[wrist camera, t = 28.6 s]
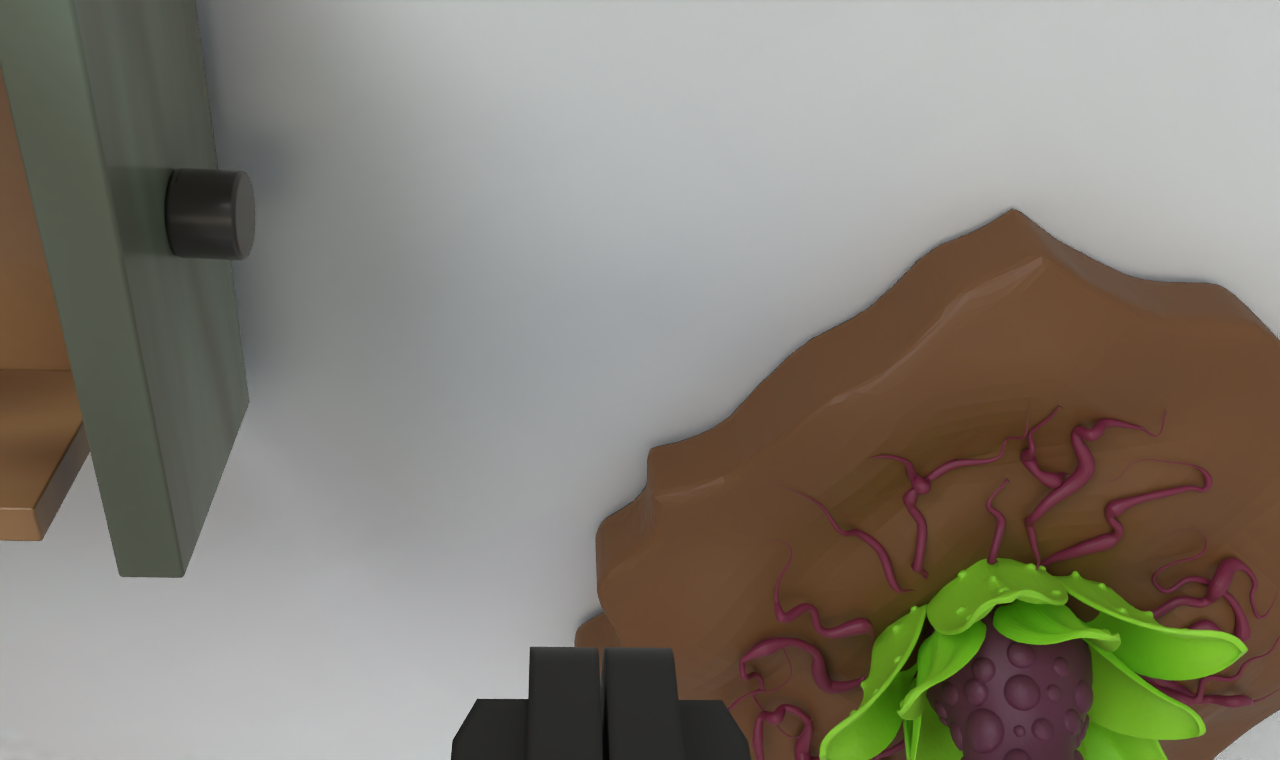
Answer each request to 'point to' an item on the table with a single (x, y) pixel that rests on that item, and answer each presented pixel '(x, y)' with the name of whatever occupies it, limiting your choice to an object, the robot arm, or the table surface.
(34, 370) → the drawer
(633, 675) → the robot arm
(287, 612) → the table surface
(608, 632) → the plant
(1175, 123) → the table surface
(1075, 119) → the table surface
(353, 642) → the table surface
